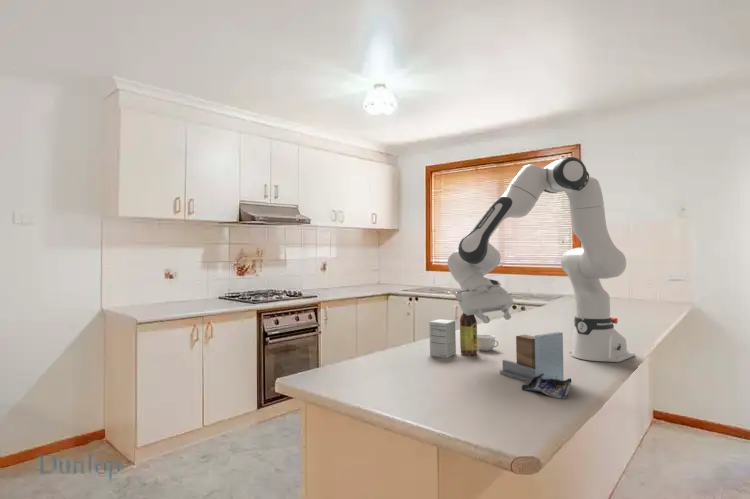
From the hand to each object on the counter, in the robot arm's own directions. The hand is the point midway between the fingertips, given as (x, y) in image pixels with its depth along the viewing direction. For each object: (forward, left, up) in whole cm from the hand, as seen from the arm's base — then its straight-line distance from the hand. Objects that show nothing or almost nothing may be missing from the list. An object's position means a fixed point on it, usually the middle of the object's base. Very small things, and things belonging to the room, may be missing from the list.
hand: (498, 320), depth 150 cm
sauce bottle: (-4, -20, -16) cm, 26 cm away
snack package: (+8, +26, -16) cm, 31 cm away
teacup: (-15, -21, -16) cm, 30 cm away
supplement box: (+5, -24, -16) cm, 29 cm away
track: (+1, +13, -15) cm, 20 cm away
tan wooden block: (0, +13, -14) cm, 19 cm away
